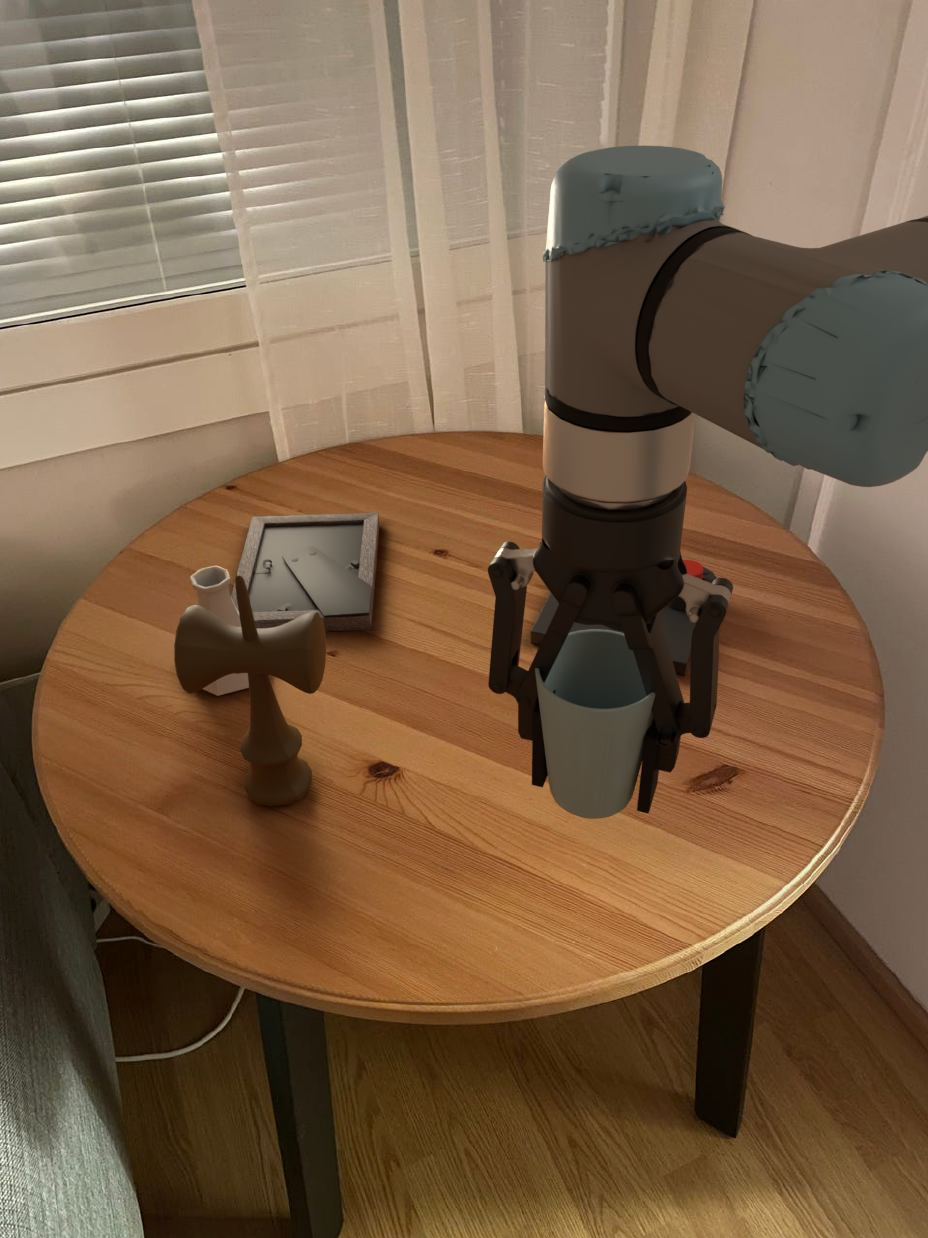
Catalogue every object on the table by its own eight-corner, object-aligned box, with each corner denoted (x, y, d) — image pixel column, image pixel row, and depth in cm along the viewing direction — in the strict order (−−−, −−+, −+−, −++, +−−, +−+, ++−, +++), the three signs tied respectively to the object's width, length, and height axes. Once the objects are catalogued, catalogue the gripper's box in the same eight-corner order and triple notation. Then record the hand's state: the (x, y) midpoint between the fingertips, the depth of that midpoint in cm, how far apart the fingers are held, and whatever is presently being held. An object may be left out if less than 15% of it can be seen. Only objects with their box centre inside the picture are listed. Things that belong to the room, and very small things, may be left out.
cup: (545, 738, 70) (548, 620, 64) (655, 757, 69) (670, 637, 62) (521, 819, 64) (523, 698, 58) (641, 841, 63) (656, 719, 56)
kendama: (228, 756, 80) (179, 548, 68) (347, 760, 80) (319, 550, 67) (208, 814, 75) (151, 601, 63) (334, 819, 75) (302, 604, 63)
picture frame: (371, 629, 93) (379, 524, 107) (369, 612, 92) (378, 508, 106) (227, 634, 93) (254, 529, 107) (223, 617, 91) (251, 513, 106)
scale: (718, 594, 96) (722, 568, 94) (693, 678, 86) (698, 651, 85) (568, 566, 100) (569, 541, 98) (530, 643, 91) (530, 616, 89)
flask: (174, 666, 89) (149, 574, 83) (245, 633, 93) (227, 542, 87) (213, 708, 85) (191, 614, 79) (287, 671, 88) (270, 578, 82)
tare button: (703, 577, 94) (705, 562, 92) (698, 593, 92) (700, 577, 91) (675, 572, 94) (677, 557, 93) (670, 588, 92) (672, 572, 91)
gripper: (814, 468, 52) (751, 779, 66) (466, 420, 58) (476, 716, 72) (799, 542, 47) (734, 865, 60) (416, 482, 52) (437, 789, 66)
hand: (594, 784), depth 66 cm, fingers closed on cup, 6 cm apart
